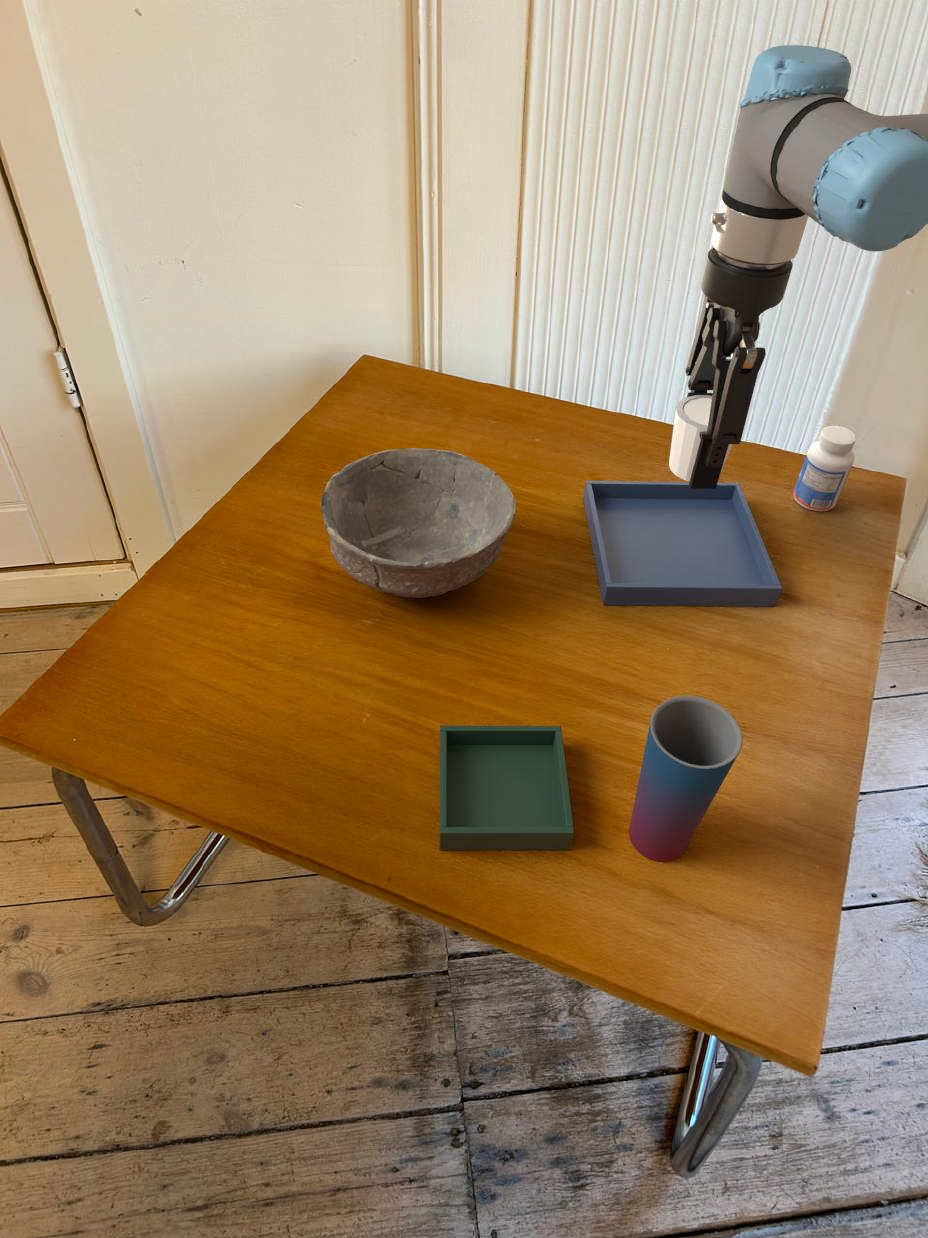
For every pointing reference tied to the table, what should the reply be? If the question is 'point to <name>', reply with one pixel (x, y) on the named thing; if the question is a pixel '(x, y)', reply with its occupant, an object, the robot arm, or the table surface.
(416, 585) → the bowl
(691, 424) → the white faceted candle
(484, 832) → the near tray
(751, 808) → the table surface
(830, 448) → the pill bottle
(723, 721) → the cup
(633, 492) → the far tray
